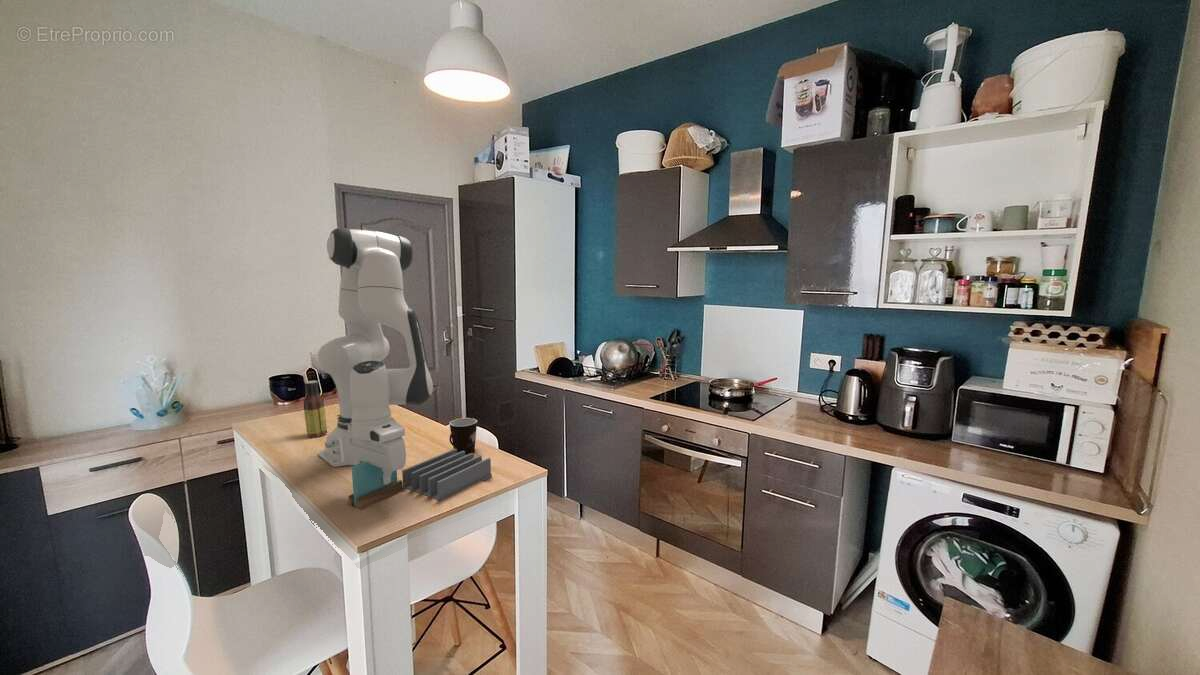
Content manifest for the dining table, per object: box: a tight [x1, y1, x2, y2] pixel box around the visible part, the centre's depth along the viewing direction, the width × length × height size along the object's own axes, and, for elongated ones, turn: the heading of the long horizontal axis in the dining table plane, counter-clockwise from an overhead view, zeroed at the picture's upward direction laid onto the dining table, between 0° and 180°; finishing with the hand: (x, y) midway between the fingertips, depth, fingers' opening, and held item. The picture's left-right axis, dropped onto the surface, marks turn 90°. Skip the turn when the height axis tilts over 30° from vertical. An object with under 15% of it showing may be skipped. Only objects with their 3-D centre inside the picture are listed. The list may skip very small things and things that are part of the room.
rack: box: [401, 448, 493, 502], centre depth 125 cm, size 15×18×6 cm
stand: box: [347, 479, 406, 511], centre depth 115 cm, size 6×12×3 cm, turn 149°
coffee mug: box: [449, 417, 478, 456], centre depth 146 cm, size 12×9×10 cm
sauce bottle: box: [303, 380, 328, 438], centre depth 161 cm, size 7×6×20 cm
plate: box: [351, 461, 398, 506], centre depth 115 cm, size 1×11×10 cm, turn 149°
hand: (375, 479), depth 115 cm, fingers open, 7 cm apart
